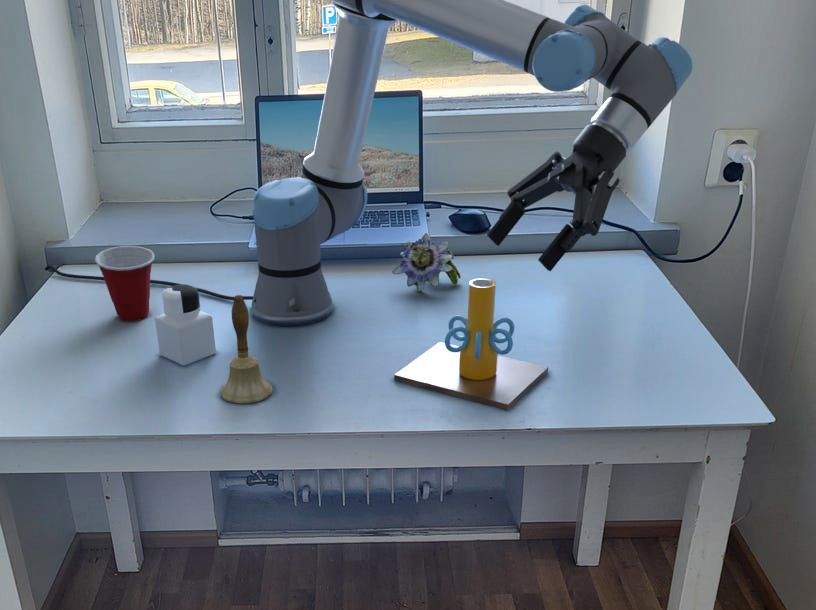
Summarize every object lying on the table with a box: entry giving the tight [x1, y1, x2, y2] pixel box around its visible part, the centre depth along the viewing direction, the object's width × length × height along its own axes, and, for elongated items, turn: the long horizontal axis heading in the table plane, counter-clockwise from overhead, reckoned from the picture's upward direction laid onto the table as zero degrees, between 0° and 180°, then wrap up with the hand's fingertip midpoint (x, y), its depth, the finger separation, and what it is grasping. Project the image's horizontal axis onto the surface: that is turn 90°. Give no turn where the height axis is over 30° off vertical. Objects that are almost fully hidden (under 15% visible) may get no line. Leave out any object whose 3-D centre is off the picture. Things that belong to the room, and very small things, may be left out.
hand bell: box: [220, 294, 274, 404], centre depth 142 cm, size 8×8×16 cm
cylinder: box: [444, 277, 515, 380], centre depth 143 cm, size 12×10×15 cm
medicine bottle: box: [154, 284, 217, 367], centre depth 156 cm, size 7×7×12 cm
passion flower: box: [392, 232, 462, 293], centre depth 182 cm, size 11×11×12 cm
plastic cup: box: [94, 245, 155, 322], centre depth 171 cm, size 11×11×12 cm
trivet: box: [393, 341, 549, 411], centre depth 148 cm, size 20×15×1 cm
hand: (517, 252), depth 140 cm, fingers open, 13 cm apart
